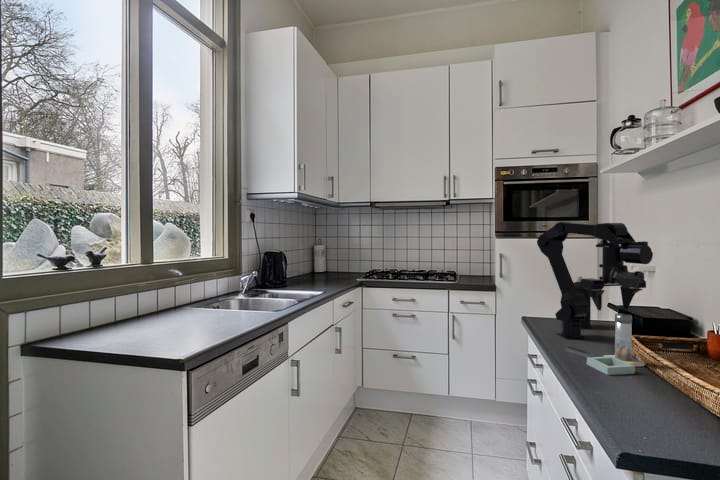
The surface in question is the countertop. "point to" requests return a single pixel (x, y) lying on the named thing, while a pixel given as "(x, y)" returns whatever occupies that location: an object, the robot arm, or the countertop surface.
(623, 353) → the grey round peg
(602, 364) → the socket
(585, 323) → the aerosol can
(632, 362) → the beige square plate
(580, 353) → the bar
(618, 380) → the countertop surface
